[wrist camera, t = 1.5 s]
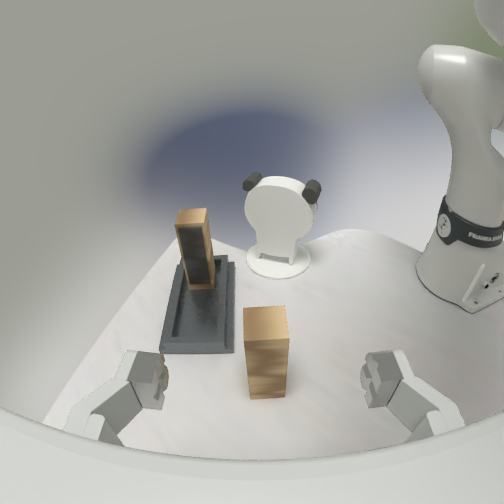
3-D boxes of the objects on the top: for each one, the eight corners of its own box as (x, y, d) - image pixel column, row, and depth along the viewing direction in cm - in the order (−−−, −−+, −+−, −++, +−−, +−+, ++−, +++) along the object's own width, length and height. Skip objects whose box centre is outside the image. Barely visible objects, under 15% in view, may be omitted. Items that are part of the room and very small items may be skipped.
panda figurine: (319, 246, 57) (325, 171, 48) (305, 286, 49) (312, 202, 40) (259, 235, 61) (256, 163, 52) (236, 271, 52) (228, 190, 43)
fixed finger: (216, 272, 51) (206, 207, 44) (214, 290, 47) (203, 224, 40) (192, 273, 51) (179, 210, 44) (189, 291, 47) (174, 226, 40)
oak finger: (281, 367, 37) (284, 302, 30) (284, 397, 34) (289, 338, 26) (249, 369, 37) (243, 304, 30) (250, 399, 34) (243, 341, 26)
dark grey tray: (234, 266, 54) (233, 254, 52) (233, 353, 39) (231, 341, 38) (178, 269, 54) (175, 257, 52) (160, 353, 39) (155, 342, 38)
